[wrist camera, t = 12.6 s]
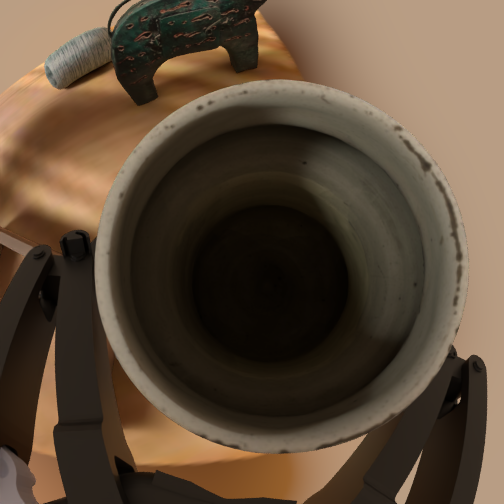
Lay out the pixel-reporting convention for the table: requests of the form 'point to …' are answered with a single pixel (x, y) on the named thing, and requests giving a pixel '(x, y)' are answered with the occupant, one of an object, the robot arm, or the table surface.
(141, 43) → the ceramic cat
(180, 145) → the apothecary jar
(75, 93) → the table surface
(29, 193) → the table surface
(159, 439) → the table surface
